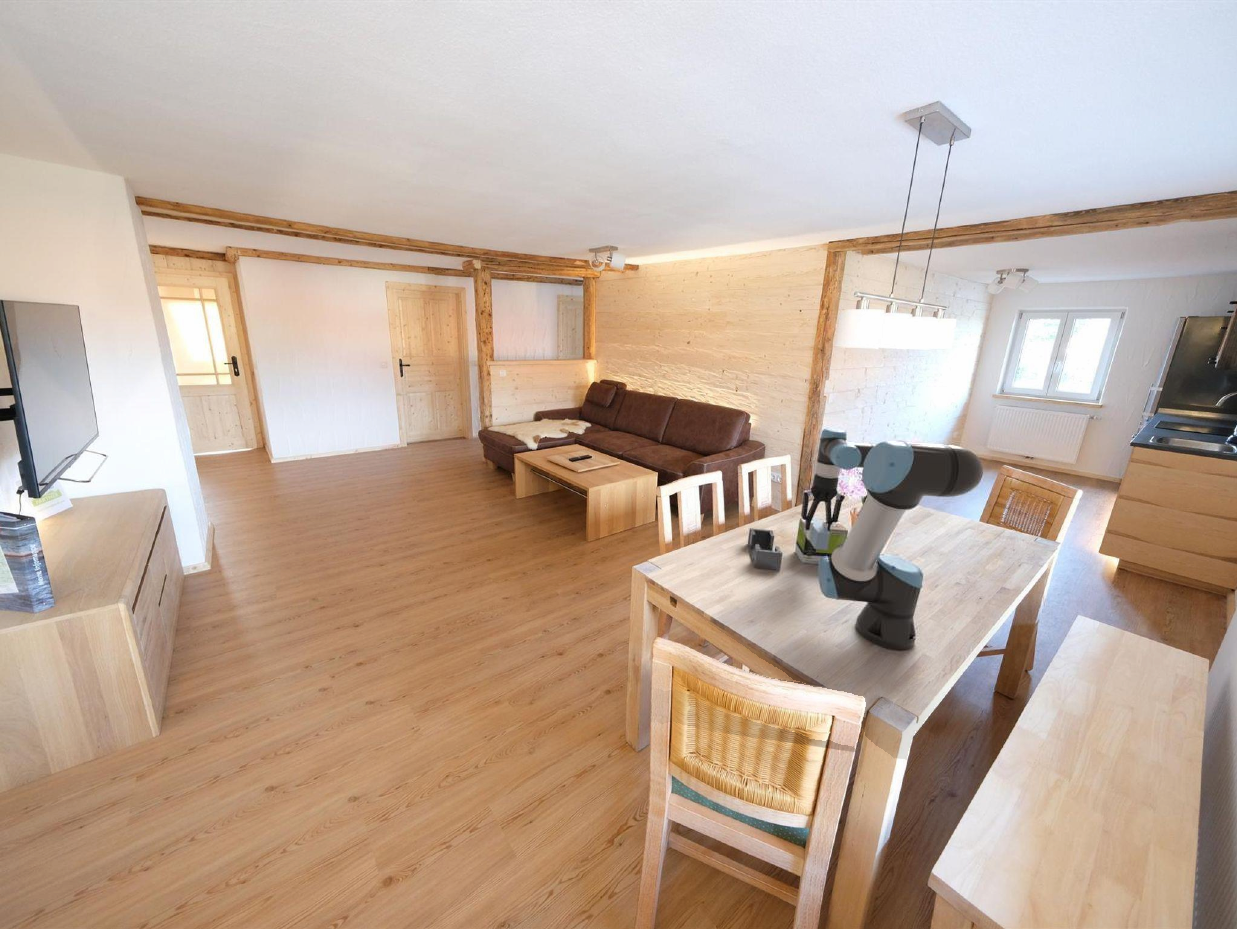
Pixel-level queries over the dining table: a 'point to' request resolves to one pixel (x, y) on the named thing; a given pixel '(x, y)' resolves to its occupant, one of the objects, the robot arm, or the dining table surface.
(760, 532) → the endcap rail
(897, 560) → the robot arm
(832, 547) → the tea box
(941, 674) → the dining table surface
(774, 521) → the dining table surface
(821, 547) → the blue-grey block
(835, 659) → the dining table surface
